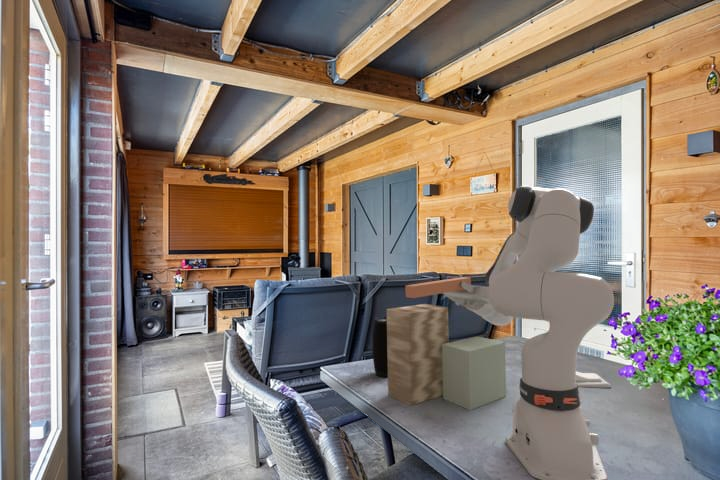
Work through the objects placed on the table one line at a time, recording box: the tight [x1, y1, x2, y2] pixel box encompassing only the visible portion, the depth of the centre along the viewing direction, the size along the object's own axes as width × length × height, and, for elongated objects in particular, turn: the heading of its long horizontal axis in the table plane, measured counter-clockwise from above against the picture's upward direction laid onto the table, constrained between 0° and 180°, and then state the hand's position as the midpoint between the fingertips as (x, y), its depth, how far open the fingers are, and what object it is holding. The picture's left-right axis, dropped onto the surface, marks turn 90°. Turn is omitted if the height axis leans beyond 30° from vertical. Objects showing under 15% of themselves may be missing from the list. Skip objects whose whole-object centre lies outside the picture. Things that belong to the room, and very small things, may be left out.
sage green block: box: [442, 335, 507, 411], centre depth 119 cm, size 16×10×16 cm, turn 125°
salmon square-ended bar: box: [404, 276, 472, 299], centre depth 129 cm, size 26×4×4 cm, turn 125°
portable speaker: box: [371, 316, 388, 378], centre depth 141 cm, size 9×9×20 cm
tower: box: [386, 303, 450, 406], centre depth 123 cm, size 16×10×26 cm, turn 125°
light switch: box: [576, 370, 612, 389], centre depth 131 cm, size 11×4×13 cm
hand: (455, 283), depth 133 cm, fingers closed on salmon square-ended bar, 3 cm apart
